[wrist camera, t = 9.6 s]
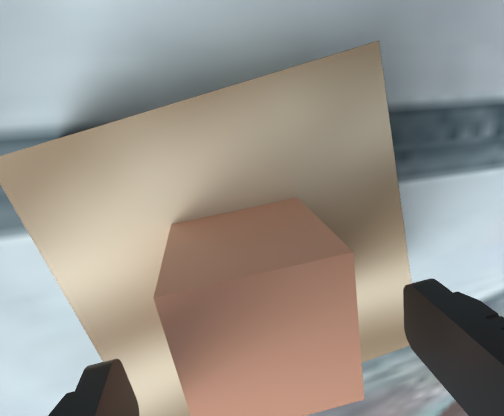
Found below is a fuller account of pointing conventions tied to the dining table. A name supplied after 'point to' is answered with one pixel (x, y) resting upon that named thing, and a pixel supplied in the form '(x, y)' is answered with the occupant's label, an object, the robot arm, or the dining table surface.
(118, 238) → the beige square slab
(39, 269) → the dining table surface
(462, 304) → the robot arm
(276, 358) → the terracotta block
